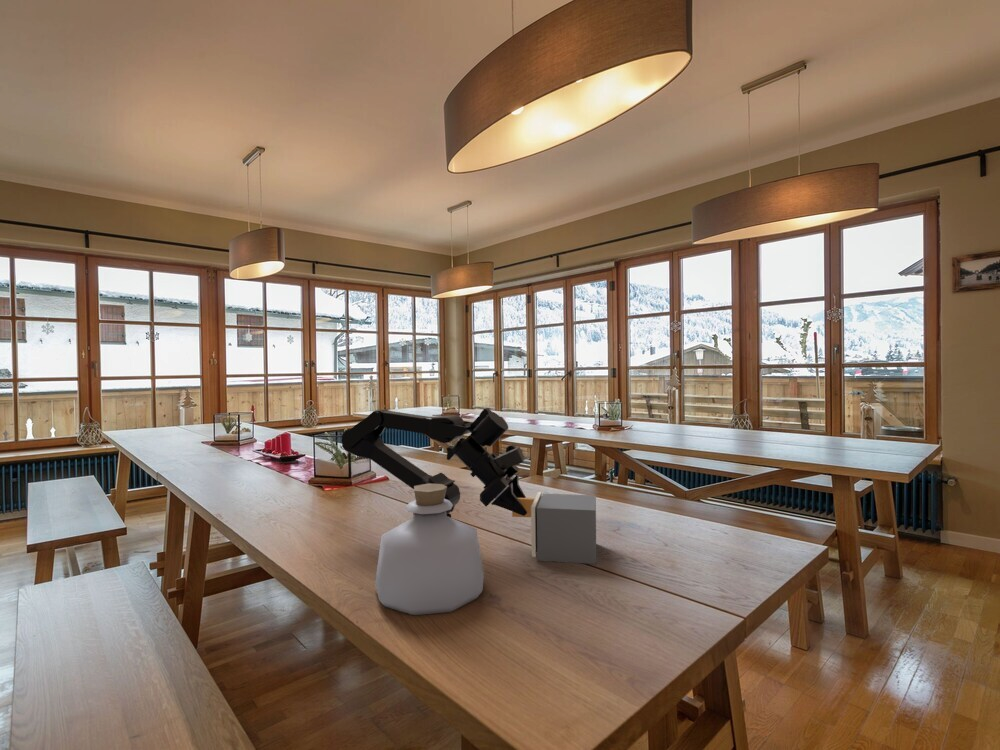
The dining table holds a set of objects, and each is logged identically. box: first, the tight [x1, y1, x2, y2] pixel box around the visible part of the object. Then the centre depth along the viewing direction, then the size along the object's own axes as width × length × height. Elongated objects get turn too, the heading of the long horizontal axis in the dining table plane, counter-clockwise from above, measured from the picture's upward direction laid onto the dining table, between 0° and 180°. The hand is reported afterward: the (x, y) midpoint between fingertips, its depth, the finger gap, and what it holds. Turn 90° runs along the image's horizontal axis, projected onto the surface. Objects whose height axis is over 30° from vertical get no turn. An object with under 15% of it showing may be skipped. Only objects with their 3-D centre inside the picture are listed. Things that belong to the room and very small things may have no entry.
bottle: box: [374, 483, 485, 616], centre depth 91 cm, size 20×20×19 cm
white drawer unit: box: [511, 491, 543, 558], centre depth 109 cm, size 17×13×10 cm
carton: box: [536, 493, 597, 565], centre depth 109 cm, size 12×12×11 cm
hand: (527, 510), depth 110 cm, fingers open, 5 cm apart
